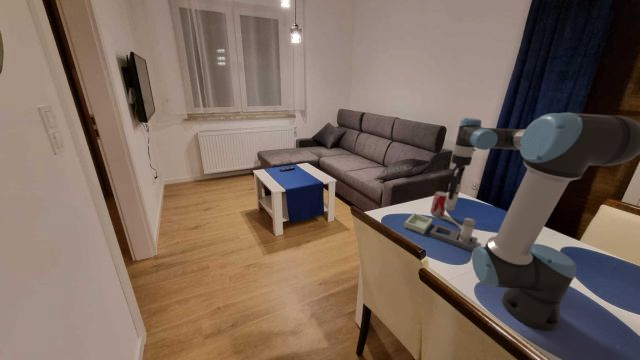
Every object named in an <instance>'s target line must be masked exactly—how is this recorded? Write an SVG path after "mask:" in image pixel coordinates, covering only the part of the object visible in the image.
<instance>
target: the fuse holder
mask: <svg viewBox="0 0 640 360" xmlns="http://www.w3.org/2000/svg"><path fill="white" fill-rule="evenodd" d="M475 225H476V220H475V219H474V218H472V217H471V218H469V217H465V218H464V220H463V224H462V226H461V231H458V230H454V229H453V228H452V229H451V228H449V227H446V226H443V225H440V224H437V223H436V224H435V225H434V227H432V229H431V230H430V232H429V236H430V237H431V238H432V237H433V238H435V239H436V240H439V241H443V242H445V243H448V244H450V245H454V246H457V247H459V248H461V249H464V250H467V251H469V252H472V253H473V250H474V249H475V248H476V244H477V243H478V237H475V236H472V234H473V231H474V230H475V229H474V228H475V227H476V226H475ZM438 231H439V232H440V233H439V232H438ZM443 233H444V234H443ZM445 234H447V235H448V236H447V235H445Z"/></svg>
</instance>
